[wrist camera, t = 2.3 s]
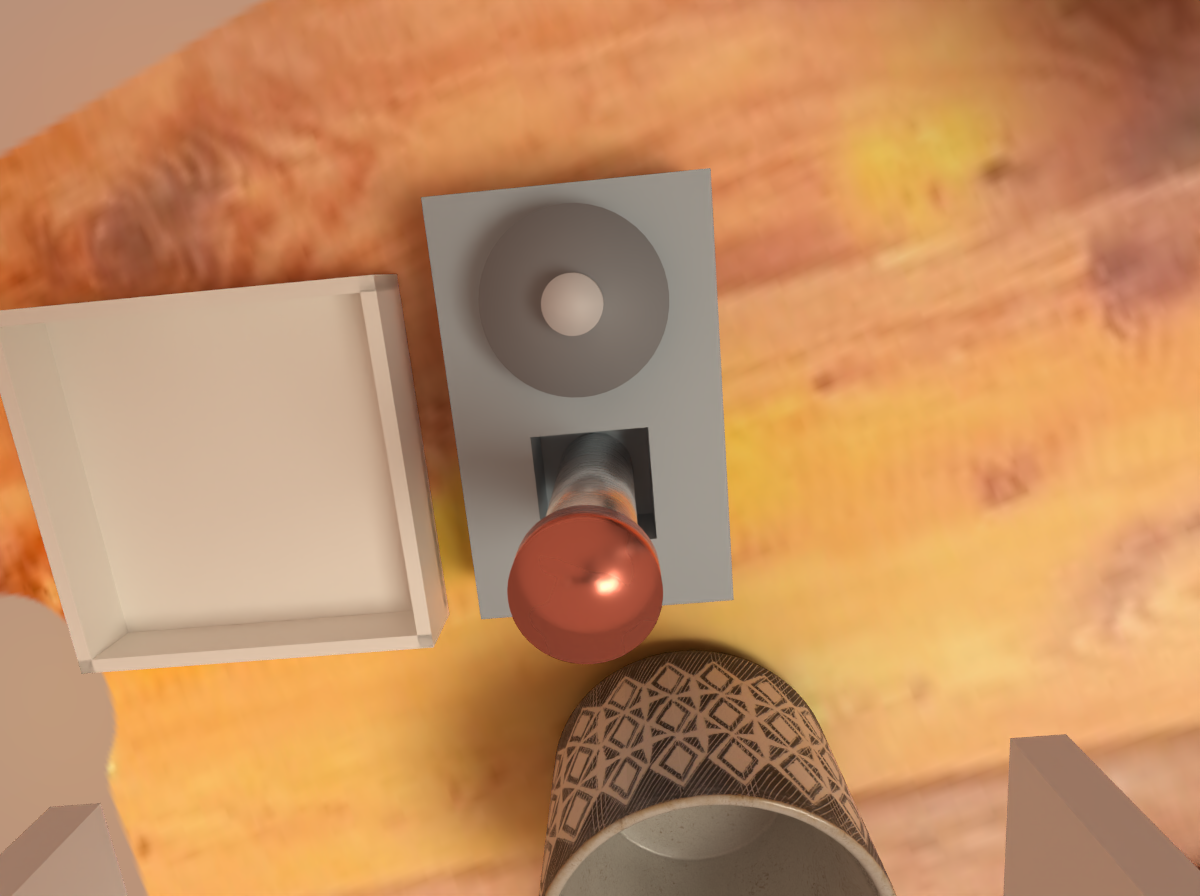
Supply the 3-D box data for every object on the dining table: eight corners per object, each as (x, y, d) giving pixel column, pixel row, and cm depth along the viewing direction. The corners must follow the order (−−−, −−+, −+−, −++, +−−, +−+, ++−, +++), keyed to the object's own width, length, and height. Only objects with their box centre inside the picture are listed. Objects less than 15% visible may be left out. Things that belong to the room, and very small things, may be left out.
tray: (37, 308, 30) (-23, 312, 28) (396, 274, 30) (373, 274, 27) (127, 639, 34) (81, 673, 31) (449, 614, 33) (433, 647, 30)
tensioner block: (446, 206, 29) (399, 189, 23) (697, 182, 29) (721, 156, 22) (496, 577, 33) (468, 652, 26) (719, 560, 32) (744, 632, 26)
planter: (875, 729, 34) (984, 920, 24) (715, 908, 37) (753, 1148, 27) (658, 586, 33) (677, 727, 23) (506, 783, 36) (463, 988, 25)
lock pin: (543, 425, 30) (497, 526, 18) (640, 416, 30) (657, 513, 18) (554, 516, 31) (517, 669, 19) (647, 509, 31) (668, 658, 19)
